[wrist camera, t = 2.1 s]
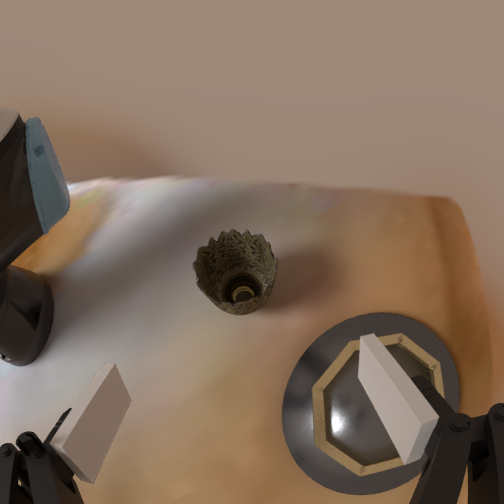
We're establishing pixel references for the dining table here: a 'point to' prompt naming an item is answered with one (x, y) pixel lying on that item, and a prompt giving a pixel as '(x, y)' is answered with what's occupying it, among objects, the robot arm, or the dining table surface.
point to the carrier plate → (358, 404)
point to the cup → (236, 271)
